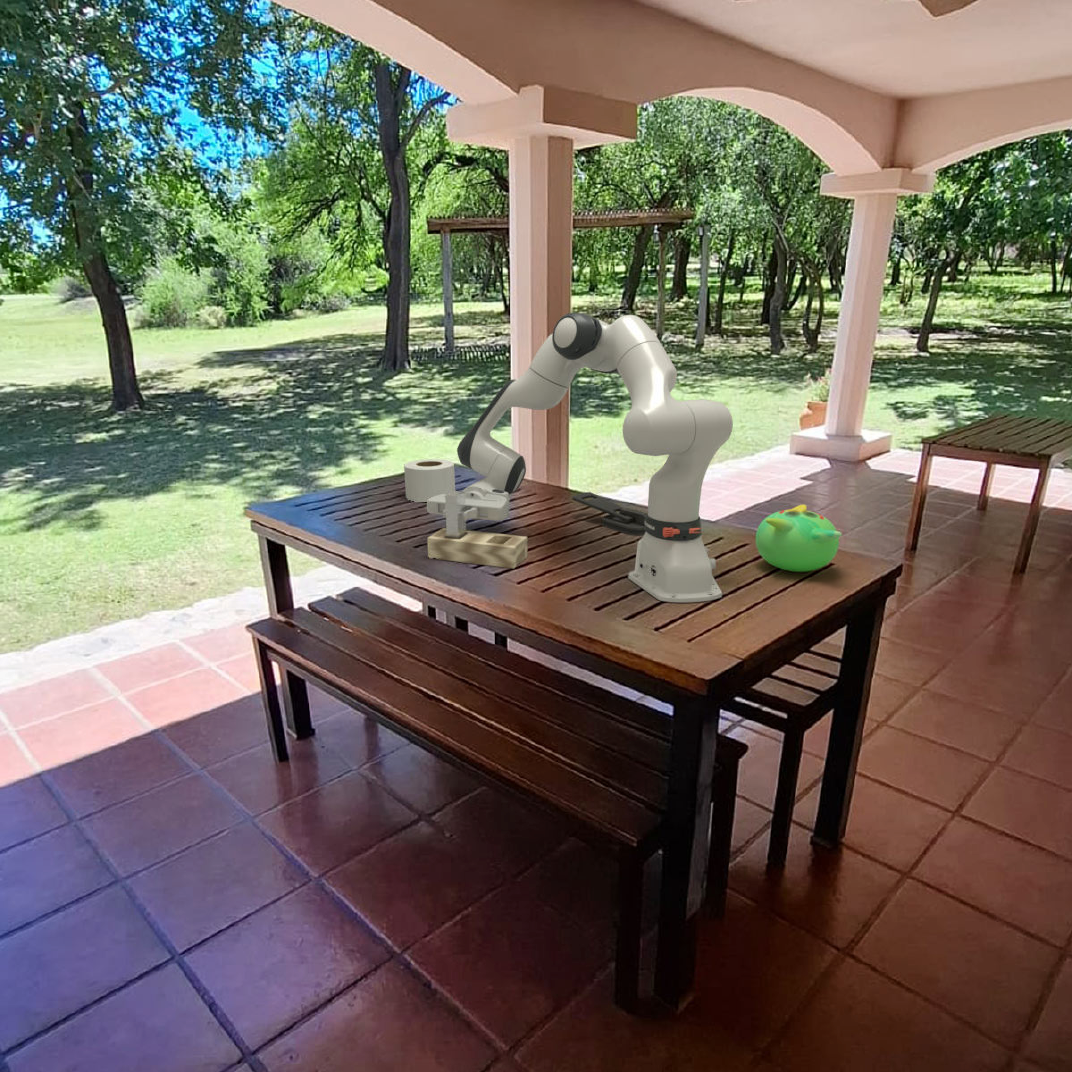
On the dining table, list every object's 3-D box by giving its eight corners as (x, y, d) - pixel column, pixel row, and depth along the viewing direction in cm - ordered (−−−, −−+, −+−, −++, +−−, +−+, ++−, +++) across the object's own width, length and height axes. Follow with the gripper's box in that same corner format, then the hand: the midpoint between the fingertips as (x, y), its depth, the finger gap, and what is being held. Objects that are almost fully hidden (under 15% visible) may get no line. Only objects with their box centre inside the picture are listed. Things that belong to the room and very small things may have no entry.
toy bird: (831, 561, 177) (839, 501, 172) (838, 586, 161) (847, 521, 157) (752, 554, 181) (758, 496, 177) (752, 578, 166) (759, 514, 161)
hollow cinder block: (527, 556, 179) (527, 536, 177) (514, 568, 171) (513, 547, 169) (444, 546, 186) (443, 527, 184) (428, 557, 178) (427, 537, 176)
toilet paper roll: (396, 500, 229) (394, 466, 226) (422, 489, 243) (420, 457, 240) (440, 505, 223) (438, 470, 220) (464, 494, 237) (463, 460, 234)
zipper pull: (589, 490, 215) (660, 507, 198) (589, 512, 217) (658, 530, 200) (568, 496, 209) (639, 513, 192) (568, 518, 211) (638, 537, 194)
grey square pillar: (466, 543, 181) (464, 491, 177) (458, 549, 177) (456, 496, 173) (455, 542, 182) (453, 490, 178) (447, 547, 178) (445, 495, 174)
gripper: (440, 485, 191) (414, 498, 178) (514, 492, 185) (493, 506, 172) (441, 509, 193) (415, 523, 180) (514, 517, 186) (493, 532, 174)
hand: (454, 515), depth 176 cm, fingers closed on grey square pillar, 3 cm apart
